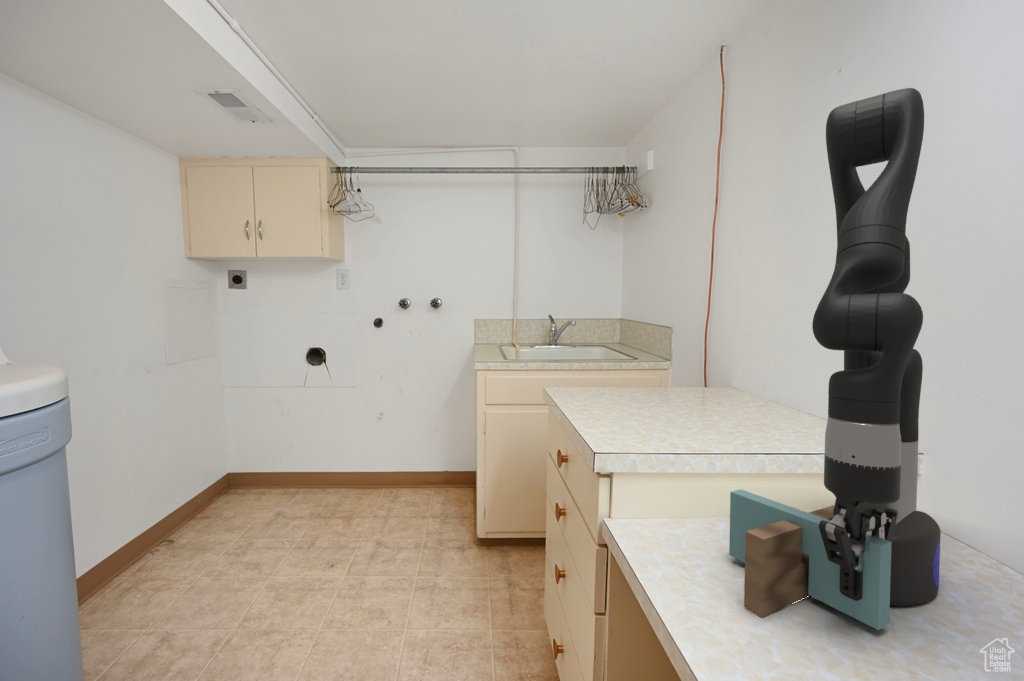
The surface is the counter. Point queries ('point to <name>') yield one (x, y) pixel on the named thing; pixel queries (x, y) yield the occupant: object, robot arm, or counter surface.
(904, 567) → the black rounded block
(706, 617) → the counter surface
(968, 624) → the counter surface
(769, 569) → the brown flat u-shaped block
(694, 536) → the counter surface
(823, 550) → the teal plate
